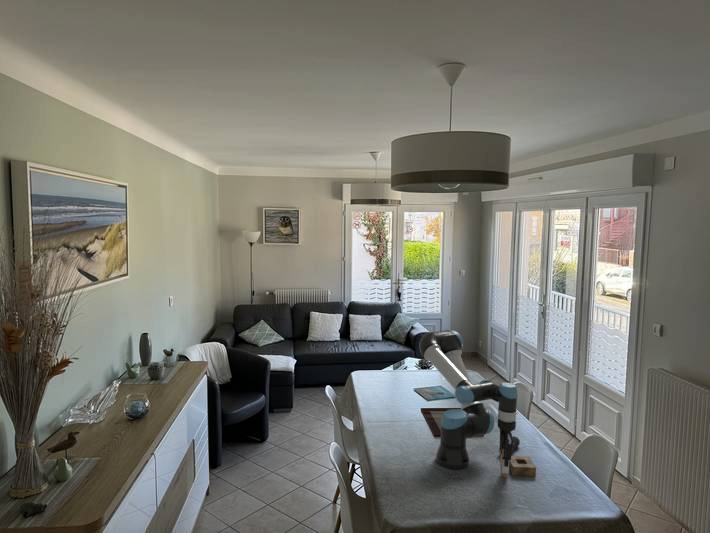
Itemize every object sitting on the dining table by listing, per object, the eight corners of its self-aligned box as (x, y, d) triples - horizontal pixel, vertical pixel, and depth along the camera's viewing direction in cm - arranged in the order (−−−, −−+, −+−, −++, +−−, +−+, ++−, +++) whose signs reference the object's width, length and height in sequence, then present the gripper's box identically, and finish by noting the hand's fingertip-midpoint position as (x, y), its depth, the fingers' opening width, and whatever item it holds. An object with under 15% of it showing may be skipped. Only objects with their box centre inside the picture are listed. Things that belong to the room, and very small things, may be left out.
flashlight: (509, 444, 241) (510, 433, 240) (520, 447, 237) (521, 436, 237) (498, 455, 228) (499, 444, 228) (509, 458, 225) (510, 447, 225)
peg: (501, 477, 208) (502, 451, 207) (500, 474, 211) (501, 448, 209) (508, 477, 208) (509, 451, 207) (506, 474, 210) (507, 448, 209)
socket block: (512, 475, 210) (513, 466, 210) (506, 463, 220) (507, 455, 219) (535, 476, 209) (536, 467, 209) (528, 464, 219) (529, 456, 219)
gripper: (520, 427, 199) (518, 480, 201) (510, 412, 214) (508, 462, 216) (502, 426, 199) (500, 479, 201) (494, 411, 215) (491, 461, 217)
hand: (504, 470), depth 209 cm, fingers closed on peg, 3 cm apart
